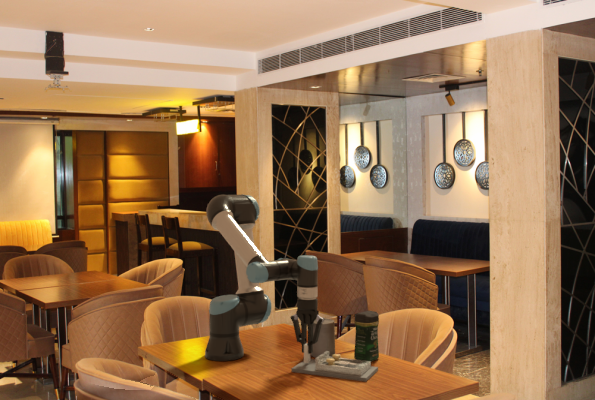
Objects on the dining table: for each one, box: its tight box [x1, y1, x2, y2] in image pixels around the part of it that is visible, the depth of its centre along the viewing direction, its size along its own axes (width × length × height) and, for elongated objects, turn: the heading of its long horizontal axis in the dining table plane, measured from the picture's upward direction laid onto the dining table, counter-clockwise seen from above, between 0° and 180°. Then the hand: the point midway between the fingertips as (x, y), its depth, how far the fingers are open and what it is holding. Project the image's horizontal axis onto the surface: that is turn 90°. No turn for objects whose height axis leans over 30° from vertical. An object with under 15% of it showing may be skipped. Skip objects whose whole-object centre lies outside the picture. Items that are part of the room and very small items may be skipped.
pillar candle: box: [310, 317, 336, 358], centre depth 228 cm, size 10×10×15 cm
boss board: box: [291, 353, 379, 383], centre depth 207 cm, size 28×14×5 cm, turn 66°
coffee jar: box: [353, 310, 380, 362], centre depth 222 cm, size 10×8×19 cm
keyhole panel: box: [314, 351, 372, 376], centre depth 206 cm, size 17×11×4 cm, turn 66°
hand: (307, 361), depth 212 cm, fingers closed
